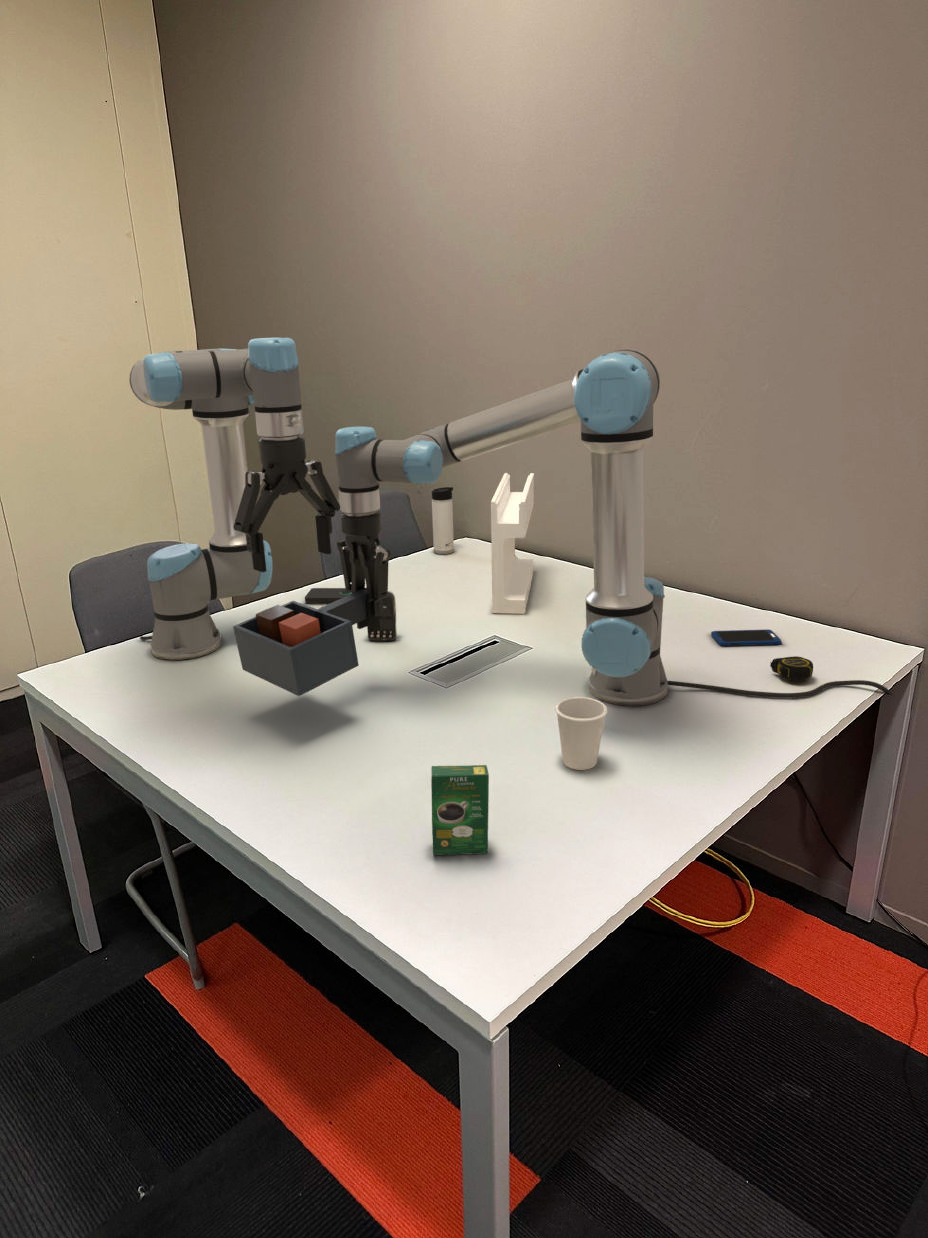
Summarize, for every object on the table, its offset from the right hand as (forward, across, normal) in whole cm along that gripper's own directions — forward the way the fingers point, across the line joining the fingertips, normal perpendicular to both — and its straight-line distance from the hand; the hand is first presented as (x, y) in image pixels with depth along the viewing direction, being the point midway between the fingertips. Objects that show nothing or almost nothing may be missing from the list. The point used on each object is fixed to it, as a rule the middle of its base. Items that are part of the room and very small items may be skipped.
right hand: (368, 628), depth 168 cm
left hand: (-19, -3, +18) cm, 26 cm away
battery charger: (+13, +18, -18) cm, 29 cm away
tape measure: (+13, -61, -58) cm, 85 cm away
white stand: (+13, +17, -64) cm, 68 cm away
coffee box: (+13, -51, +28) cm, 59 cm away
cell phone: (+13, -45, -71) cm, 85 cm away
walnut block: (+2, +4, +18) cm, 18 cm away
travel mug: (+13, +58, -79) cm, 99 cm away
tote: (+2, 0, +10) cm, 10 cm away
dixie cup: (+13, -49, -3) cm, 51 cm away
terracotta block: (+2, -4, +18) cm, 18 cm away
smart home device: (+13, +47, -31) cm, 58 cm away
